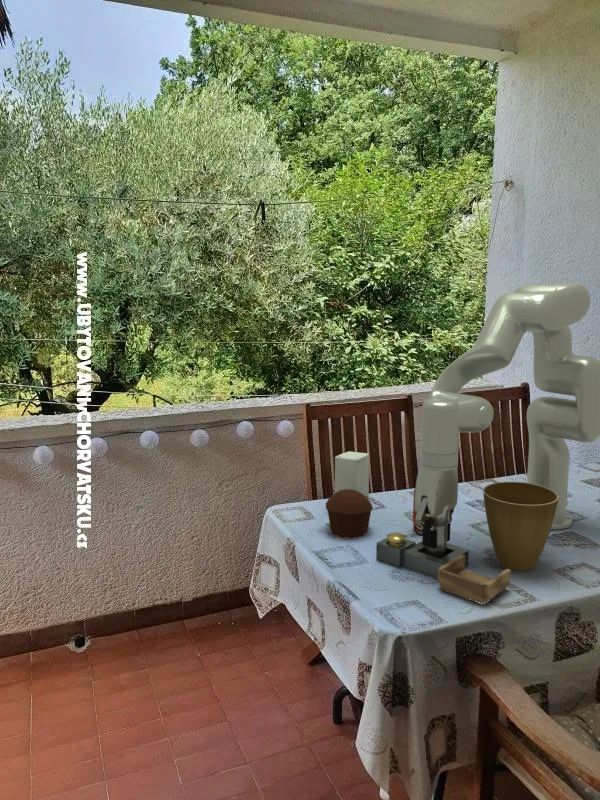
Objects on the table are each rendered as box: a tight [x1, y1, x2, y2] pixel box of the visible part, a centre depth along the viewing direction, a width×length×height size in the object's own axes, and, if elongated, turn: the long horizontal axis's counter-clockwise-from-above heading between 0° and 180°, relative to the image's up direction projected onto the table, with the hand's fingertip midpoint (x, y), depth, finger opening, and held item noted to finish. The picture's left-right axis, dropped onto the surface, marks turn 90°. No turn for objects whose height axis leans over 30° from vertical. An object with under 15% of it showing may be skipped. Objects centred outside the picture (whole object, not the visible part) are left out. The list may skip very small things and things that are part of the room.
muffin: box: [325, 489, 373, 539], centre depth 152 cm, size 12×11×10 cm
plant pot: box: [482, 481, 559, 572], centre depth 133 cm, size 15×15×16 cm
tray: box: [437, 554, 512, 604], centre depth 122 cm, size 10×11×4 cm
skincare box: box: [334, 450, 370, 501], centre depth 165 cm, size 8×7×16 cm
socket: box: [375, 537, 470, 580], centre depth 134 cm, size 11×16×4 cm
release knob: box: [386, 532, 407, 547], centre depth 136 cm, size 4×4×5 cm
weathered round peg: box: [425, 505, 449, 559], centre depth 132 cm, size 5×5×14 cm
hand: (436, 542), depth 132 cm, fingers closed on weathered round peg, 4 cm apart
